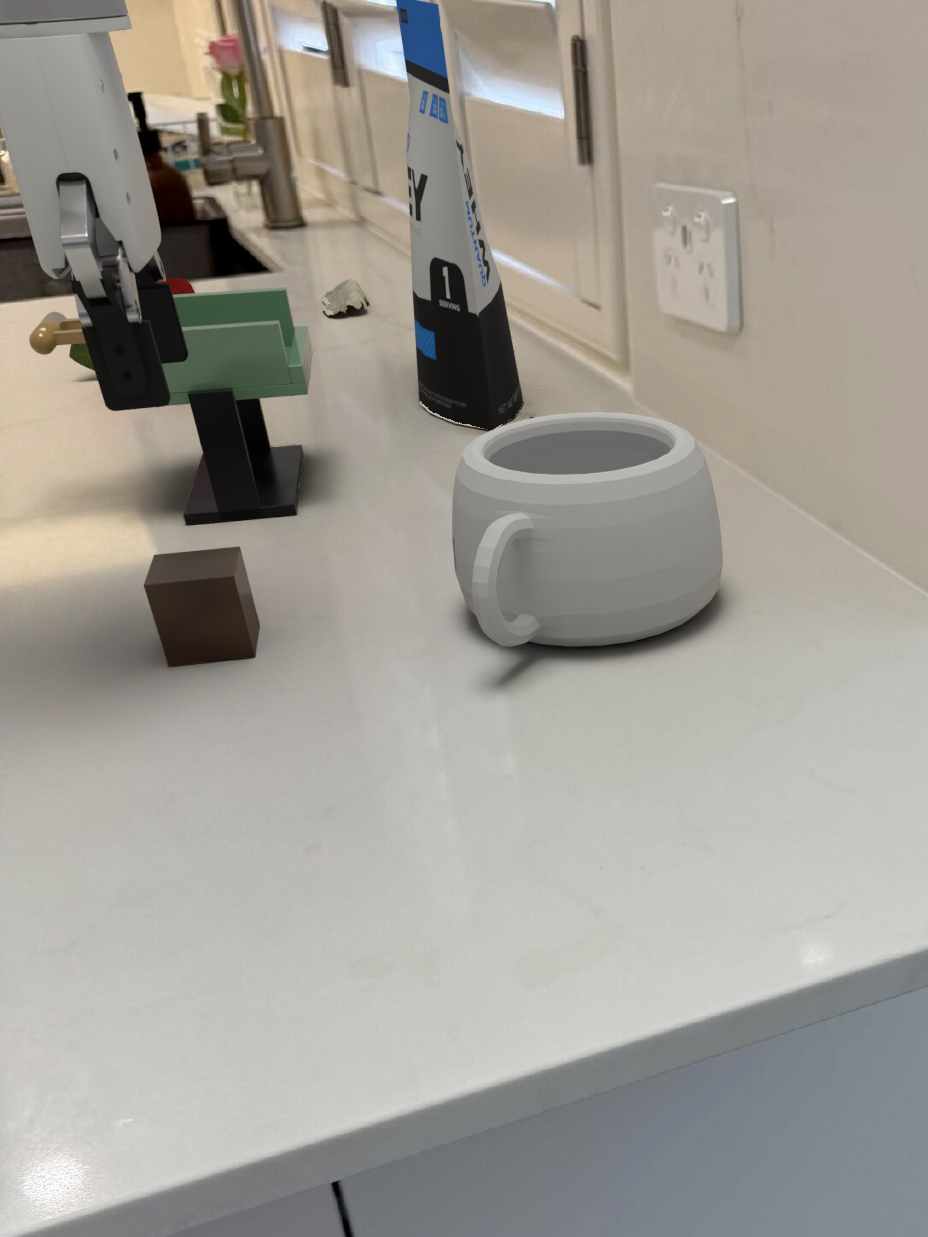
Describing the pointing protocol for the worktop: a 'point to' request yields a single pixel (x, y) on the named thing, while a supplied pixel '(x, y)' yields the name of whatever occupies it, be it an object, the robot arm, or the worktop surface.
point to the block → (202, 606)
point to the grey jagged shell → (346, 296)
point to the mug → (585, 529)
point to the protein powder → (451, 249)
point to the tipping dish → (221, 344)
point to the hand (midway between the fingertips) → (151, 383)
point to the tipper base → (239, 463)
